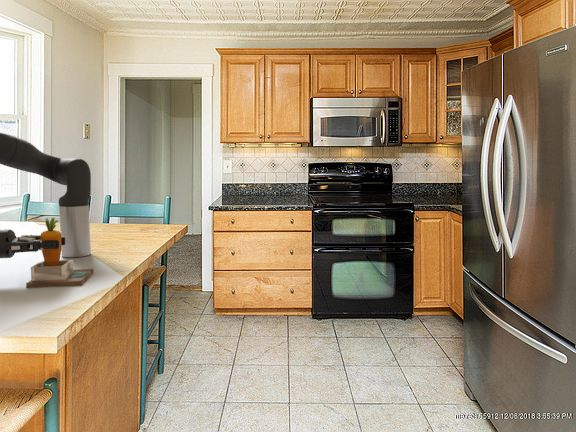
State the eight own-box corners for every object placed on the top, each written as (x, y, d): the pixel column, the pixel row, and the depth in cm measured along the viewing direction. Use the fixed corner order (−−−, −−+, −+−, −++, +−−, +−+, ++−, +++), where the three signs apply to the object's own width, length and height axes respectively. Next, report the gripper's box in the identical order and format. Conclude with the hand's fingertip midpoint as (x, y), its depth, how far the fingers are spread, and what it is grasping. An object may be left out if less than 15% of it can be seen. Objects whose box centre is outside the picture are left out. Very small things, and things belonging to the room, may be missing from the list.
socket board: (44, 274, 129) (43, 258, 128) (93, 272, 131) (92, 256, 131) (26, 287, 115) (25, 269, 114) (81, 285, 117) (80, 267, 117)
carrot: (42, 271, 123) (39, 216, 121) (62, 269, 125) (60, 215, 124) (41, 275, 119) (39, 218, 117) (63, 273, 121) (60, 217, 119)
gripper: (-22, 234, 111) (53, 232, 114) (2, 226, 125) (69, 225, 128) (-20, 264, 112) (54, 261, 115) (4, 252, 126) (70, 251, 129)
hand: (62, 242), depth 122 cm, fingers closed on carrot, 4 cm apart
